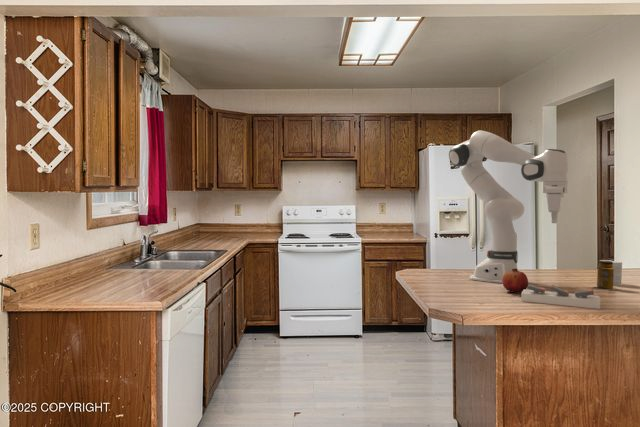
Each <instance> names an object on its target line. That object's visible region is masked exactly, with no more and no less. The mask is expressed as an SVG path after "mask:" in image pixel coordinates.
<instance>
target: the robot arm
mask: <svg viewBox="0 0 640 427" xmlns="http://www.w3.org/2000/svg"><path fill="white" fill-rule="evenodd" d="M448 159H449V161H450V163H451V164H452V165H453V166H454V167H456V168H457V167H458V168H459V167H461V170H460V173H461V175H462V178H463V179H464V180H465V182H466V183H467V185H468V186H469V188H470V189H471V190H472V191H473V192H474V194H475V195H476V196H477V197H478V198H479V199H480V200H481V201H483V202H484V203H486V204H485V206H484V214H485V216H486V218H487V219H488V222H489V225H490V226H489V227H490V230H491V231H490V232H491V249H489V250H487V252H486V253H487V254H486V256H487V257H486V258H485V259H483V260H482V261H481V262H479V263H478V264H476V265H475V268H474V272H473V274H470V275H469V279H470V280H471V281H477V282H480V281H481V282H487V283H495V284H496V283H497V284H503V282H502V278H503V276H504V274H505V273H506V272H509V271H512V269H518V260H519V253H518V250H517V248H518V247H517V246H518V245H517V243H518V242H517V240H518V239H517V238H518V236H517V235H518V234H517V233H516V231H515V227H514V224H513V221H514V222H515V221H516V220H518V219H520V218H521V217H522V216H523V214H524V212H525V206H524V204H523V203H522V201H520V200H519V199H517V198H516V197H514V196H513V195H512V194H511V193H510V192H509V191H508V190H506V189H505V188H504V187H502V185H500V183H498V181H496V179H495V178H494V177H493V176H492V175H491V173H489V171H488V170H487V169H486V168H485V167H484V165H483V162H486V161H488V160H490V161H494V162H498V163H507V164H508V163H510V164H516V165H520V166H521V169H520V171H521V172H520V173H521V175H522V177H523V179H524V180H526V181H529V182H541V183H542V194H545V197H546V200H547V203H546V204H547V210H548V211H547V212H548V213H551V223H552V224H557V223H558V213H559V212H560V211H561V201H562V198H564V194H568V179H567V178H568V177H567V174H568V171H569V170H568V169H569V166H568V165H569V164H568V161H569V160H568V156H567V152H566V151H565V150H563V149H555V148H547V149H545V150H544V152H542V153H540V154H539V155H535V154H533V153H531V152H528V151H526V150H523V149H521V148H520V147H518V146H517V145H514V144H513V143H512V142H510V141H508V140H506V139H504V138H503V137H501V136H499V135H497V134H495V133H492V132H489V131H485V130H481V129H480V130H477V131H475V132H473V133H472V134H471V136H470V138H469V139H468V140H465V141H463V142H461V143H459V144H456V145H454V146H452V147H451V148H450V150H449V151H448Z"/></svg>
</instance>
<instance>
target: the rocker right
mask: <svg viewBox="0 0 640 427" xmlns="http://www.w3.org/2000/svg"><path fill="white" fill-rule="evenodd" d="M574 294H575V296H586V295H594V296H595V292H594V289H593V288H591V289H587V290H586V289H585V290H577V291H576V290H575V291H574Z"/></svg>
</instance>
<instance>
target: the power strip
mask: <svg viewBox="0 0 640 427" xmlns="http://www.w3.org/2000/svg"><path fill="white" fill-rule="evenodd" d="M520 293H521V294H520V297H521V298H520V300H521V302H527V303H535V304H536V303H537V304H545V305H546V304H547V305H557V306H567V307H578V308H587V309H597V310H600V309H601V298H600V295H595V294H594V295H586V296H575V293H571V292H569V295H568V297H567V296H565V295H562V294H560V293H557V292H555V291H547V290H545V293H540V292H537V291H533V290H530V289H524V290H523V291H522V292H520Z"/></svg>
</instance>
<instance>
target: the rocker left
mask: <svg viewBox="0 0 640 427" xmlns="http://www.w3.org/2000/svg"><path fill="white" fill-rule="evenodd" d="M526 290H533V291H537V292H540V293H545V291H546V288H545V287H542V286H541V287H540V286H537V285H534V284H529V283H528V287H527V289H526Z"/></svg>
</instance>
